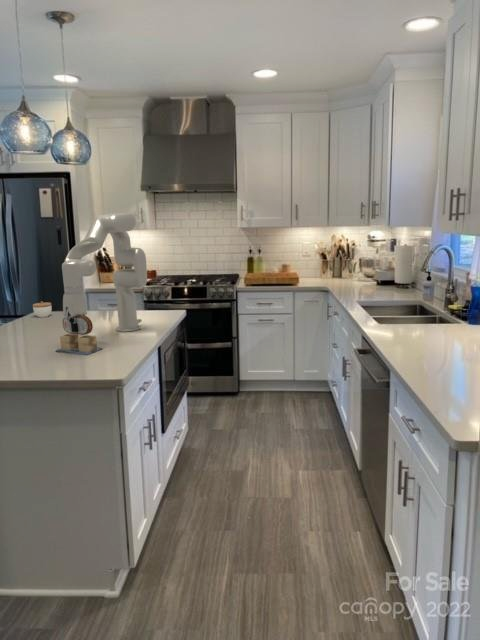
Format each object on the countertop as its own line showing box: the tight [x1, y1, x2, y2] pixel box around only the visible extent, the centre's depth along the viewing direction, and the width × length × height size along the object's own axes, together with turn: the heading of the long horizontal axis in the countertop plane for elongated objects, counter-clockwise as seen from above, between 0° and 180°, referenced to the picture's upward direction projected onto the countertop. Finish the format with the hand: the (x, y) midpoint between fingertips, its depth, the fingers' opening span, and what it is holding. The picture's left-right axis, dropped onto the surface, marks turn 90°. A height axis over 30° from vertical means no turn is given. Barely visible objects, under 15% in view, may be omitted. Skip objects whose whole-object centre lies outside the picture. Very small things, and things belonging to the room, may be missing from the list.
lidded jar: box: [32, 300, 53, 318], centre depth 301 cm, size 11×11×9 cm
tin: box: [62, 315, 93, 336], centre depth 219 cm, size 15×3×8 cm, turn 66°
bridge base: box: [55, 333, 104, 356], centre depth 221 cm, size 10×18×7 cm, turn 66°
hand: (77, 330), depth 220 cm, fingers open, 2 cm apart
